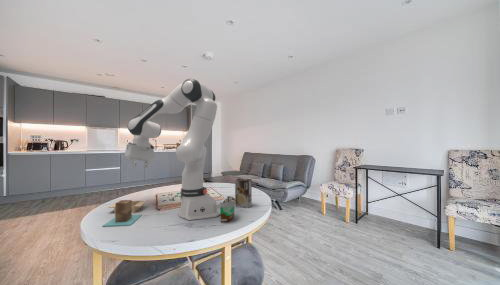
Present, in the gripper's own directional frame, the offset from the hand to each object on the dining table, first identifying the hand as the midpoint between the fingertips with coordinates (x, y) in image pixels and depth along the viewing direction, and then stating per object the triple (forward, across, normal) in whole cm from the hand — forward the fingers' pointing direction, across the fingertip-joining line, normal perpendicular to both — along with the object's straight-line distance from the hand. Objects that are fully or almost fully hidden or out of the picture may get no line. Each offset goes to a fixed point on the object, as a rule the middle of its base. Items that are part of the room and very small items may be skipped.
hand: (140, 167), depth 115 cm
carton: (+24, -1, +5) cm, 24 cm away
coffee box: (+29, +20, -57) cm, 67 cm away
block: (+28, -14, -4) cm, 32 cm away
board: (+28, -14, -4) cm, 32 cm away
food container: (+33, -1, -54) cm, 64 cm away
